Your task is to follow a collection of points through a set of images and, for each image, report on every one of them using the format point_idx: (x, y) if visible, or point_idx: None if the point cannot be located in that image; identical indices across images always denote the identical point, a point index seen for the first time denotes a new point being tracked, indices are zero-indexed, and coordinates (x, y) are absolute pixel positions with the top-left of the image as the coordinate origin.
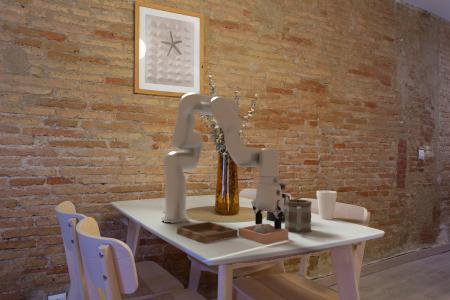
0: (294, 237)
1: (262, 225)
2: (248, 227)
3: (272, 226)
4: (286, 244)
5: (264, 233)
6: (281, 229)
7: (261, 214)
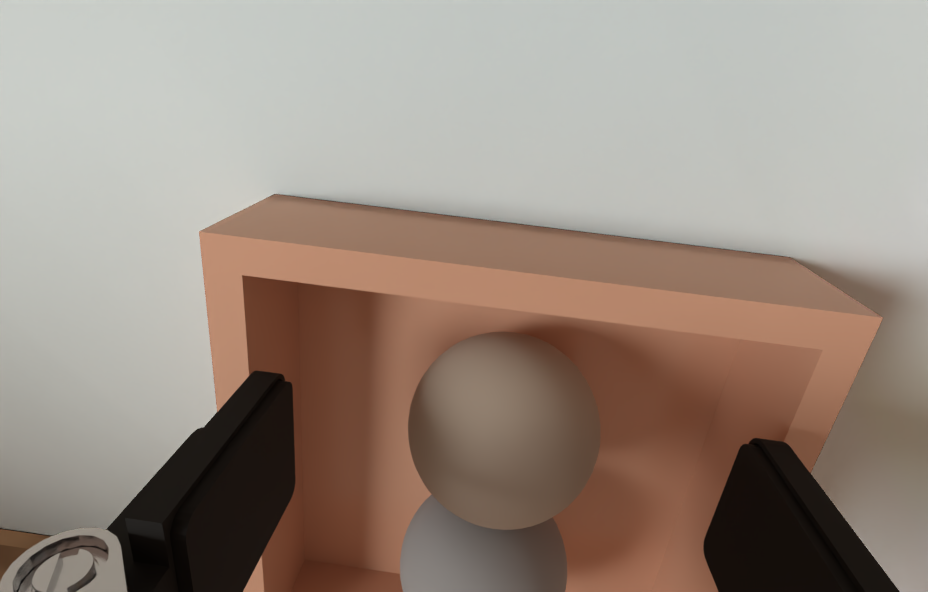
0: (836, 80)
1: (253, 281)
2: (265, 550)
3: (573, 427)
4: (863, 465)
5: (564, 551)
6: (720, 330)
7: (194, 542)
